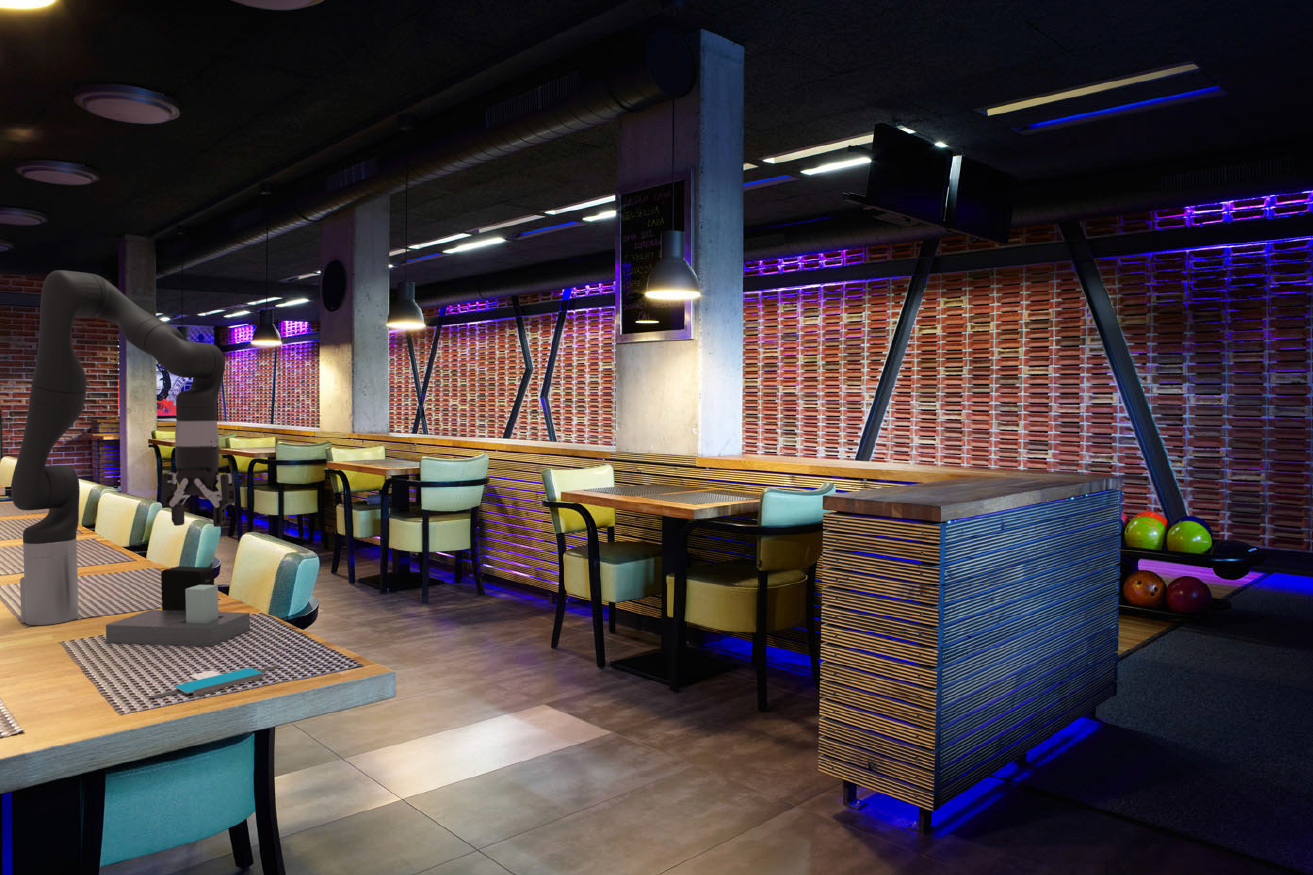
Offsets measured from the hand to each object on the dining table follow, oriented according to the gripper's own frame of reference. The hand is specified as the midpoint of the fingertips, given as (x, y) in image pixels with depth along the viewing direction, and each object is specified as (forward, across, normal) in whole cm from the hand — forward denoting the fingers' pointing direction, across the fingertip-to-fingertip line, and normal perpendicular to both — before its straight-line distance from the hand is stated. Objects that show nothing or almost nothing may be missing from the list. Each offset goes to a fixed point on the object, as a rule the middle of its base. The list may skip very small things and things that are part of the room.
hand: (198, 525), depth 162 cm
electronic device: (+22, -15, +17) cm, 32 cm away
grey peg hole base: (+22, -4, 0) cm, 23 cm away
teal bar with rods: (+23, +20, -24) cm, 39 cm away
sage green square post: (+22, 0, 0) cm, 22 cm away
